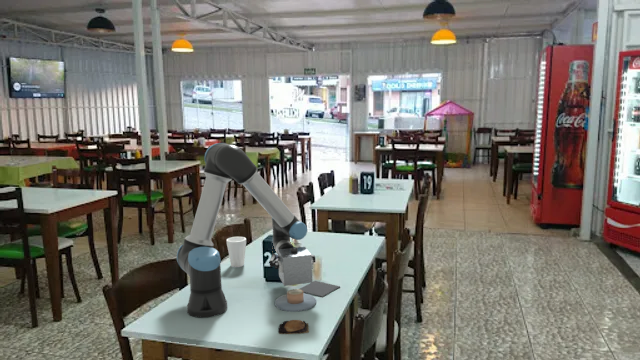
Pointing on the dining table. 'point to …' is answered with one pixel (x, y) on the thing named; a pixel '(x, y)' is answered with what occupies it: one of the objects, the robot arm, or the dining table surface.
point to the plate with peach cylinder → (295, 301)
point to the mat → (319, 288)
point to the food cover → (295, 266)
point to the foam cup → (236, 250)
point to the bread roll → (293, 327)
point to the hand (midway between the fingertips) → (297, 267)
